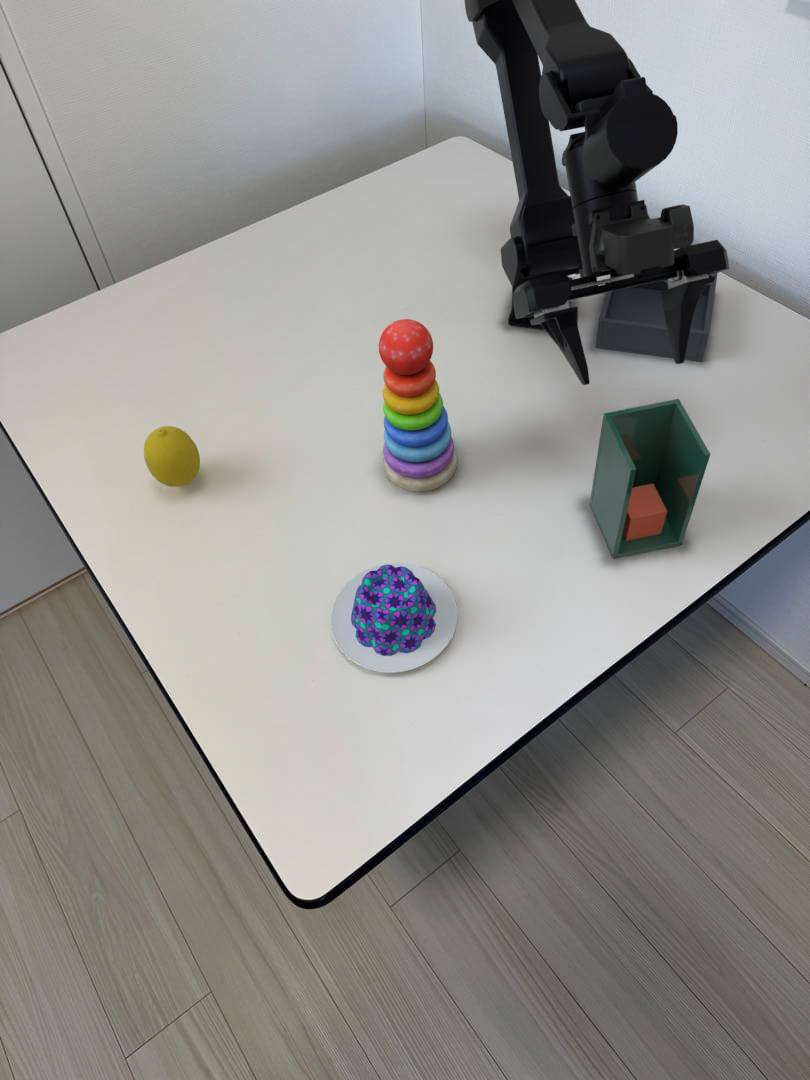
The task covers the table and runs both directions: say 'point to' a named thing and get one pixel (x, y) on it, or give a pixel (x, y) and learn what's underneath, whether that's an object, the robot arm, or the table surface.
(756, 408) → the table surface
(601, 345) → the bin
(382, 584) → the pudding
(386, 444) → the stacking toy
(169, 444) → the lemon
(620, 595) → the table surface
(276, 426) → the table surface
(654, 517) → the toy cube
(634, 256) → the robot arm
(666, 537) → the pour tub
